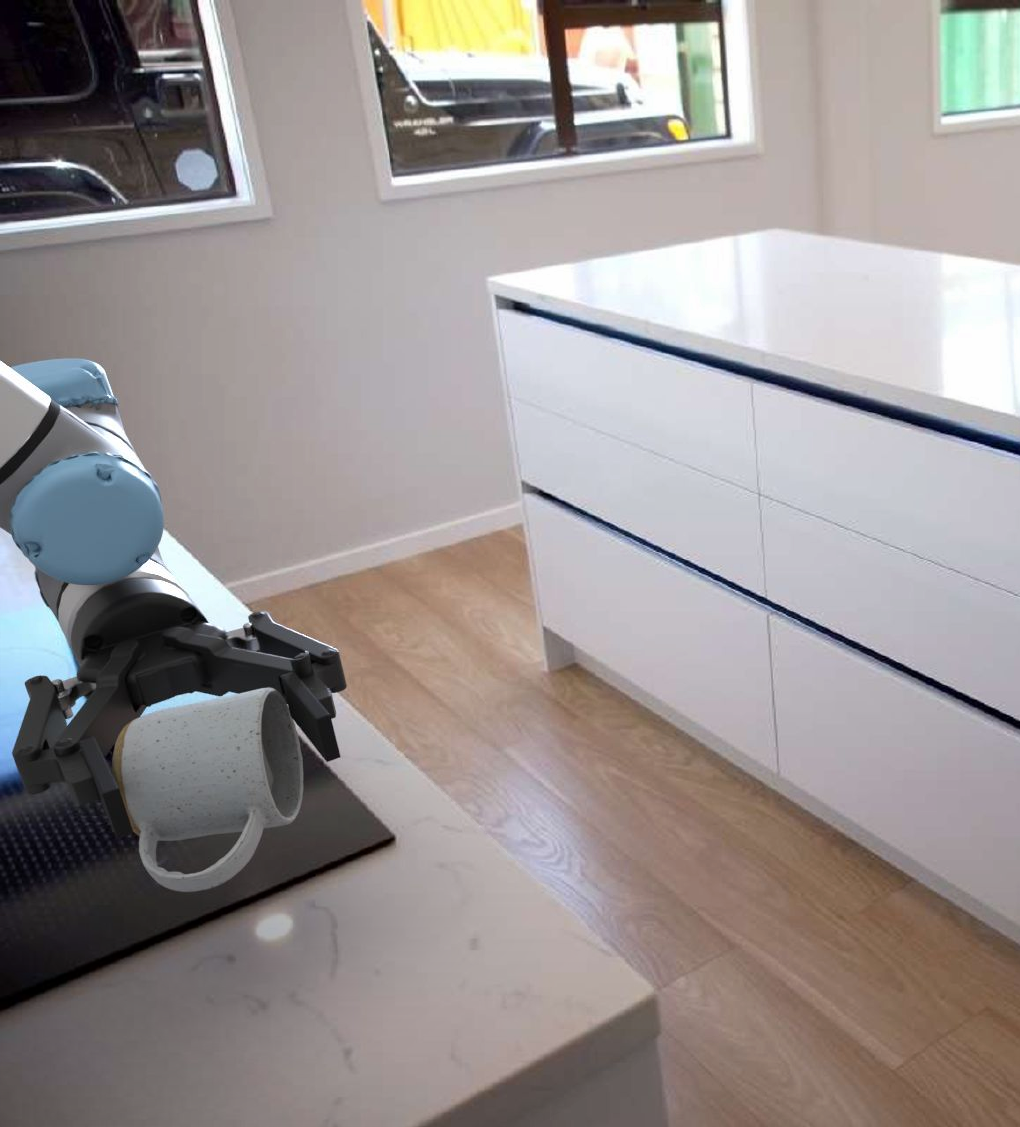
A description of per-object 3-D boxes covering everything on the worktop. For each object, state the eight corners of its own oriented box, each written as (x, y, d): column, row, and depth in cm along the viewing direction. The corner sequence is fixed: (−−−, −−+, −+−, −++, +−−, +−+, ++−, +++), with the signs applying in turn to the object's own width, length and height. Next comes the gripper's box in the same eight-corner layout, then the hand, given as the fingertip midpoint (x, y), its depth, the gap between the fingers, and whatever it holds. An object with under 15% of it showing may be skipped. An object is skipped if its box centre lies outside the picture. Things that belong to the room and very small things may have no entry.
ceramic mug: (165, 797, 76) (129, 684, 72) (311, 774, 77) (282, 663, 74) (115, 913, 66) (70, 790, 63) (282, 885, 68) (247, 763, 64)
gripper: (322, 628, 90) (446, 756, 74) (-46, 743, 78) (4, 927, 62) (299, 530, 87) (422, 641, 71) (-89, 633, 75) (-47, 797, 59)
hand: (227, 774), depth 67 cm, fingers closed on ceramic mug, 10 cm apart
